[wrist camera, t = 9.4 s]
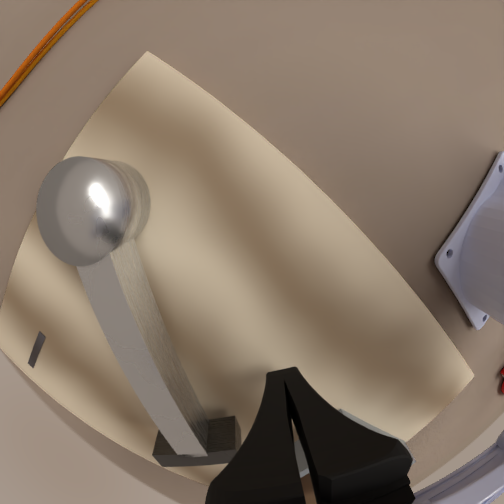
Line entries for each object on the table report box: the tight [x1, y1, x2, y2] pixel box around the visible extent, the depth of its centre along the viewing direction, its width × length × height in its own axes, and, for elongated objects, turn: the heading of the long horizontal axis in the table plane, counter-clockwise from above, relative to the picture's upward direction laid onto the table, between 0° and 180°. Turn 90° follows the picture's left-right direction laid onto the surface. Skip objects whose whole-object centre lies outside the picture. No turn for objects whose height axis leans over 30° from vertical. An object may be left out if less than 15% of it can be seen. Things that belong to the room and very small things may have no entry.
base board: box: [0, 51, 474, 486], centre depth 14 cm, size 20×29×1 cm
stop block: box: [301, 473, 317, 504], centre depth 13 cm, size 4×4×5 cm
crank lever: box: [36, 156, 242, 467], centre depth 11 cm, size 15×4×3 cm, turn 14°
